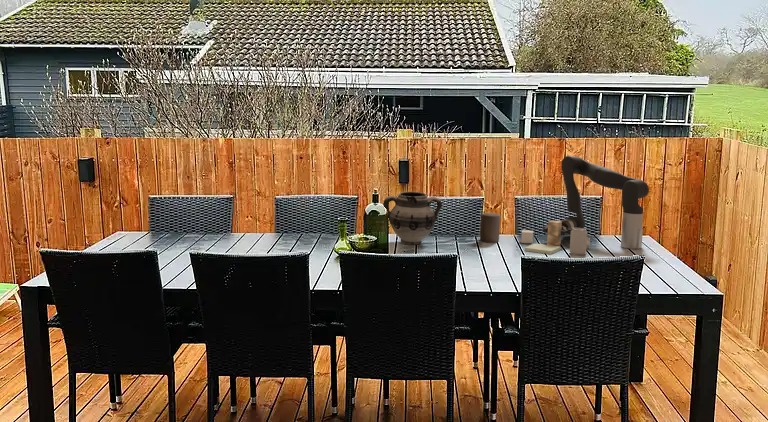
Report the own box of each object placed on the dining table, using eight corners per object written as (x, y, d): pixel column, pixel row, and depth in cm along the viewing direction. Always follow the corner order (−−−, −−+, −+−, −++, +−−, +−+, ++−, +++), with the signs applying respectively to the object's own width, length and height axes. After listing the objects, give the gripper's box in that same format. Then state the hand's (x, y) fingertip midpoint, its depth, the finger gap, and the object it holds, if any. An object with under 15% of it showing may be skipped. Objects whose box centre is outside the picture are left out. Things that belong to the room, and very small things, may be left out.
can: (584, 252, 325) (585, 227, 323) (587, 255, 318) (589, 230, 316) (568, 251, 326) (569, 226, 324) (570, 255, 318) (572, 229, 317)
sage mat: (560, 249, 330) (560, 246, 330) (550, 254, 319) (551, 251, 319) (534, 246, 337) (534, 243, 337) (524, 250, 326) (524, 247, 326)
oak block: (560, 245, 341) (561, 221, 339) (556, 246, 337) (558, 222, 335) (550, 243, 344) (551, 220, 342) (547, 245, 340) (548, 221, 338)
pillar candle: (478, 241, 345) (479, 212, 343) (481, 238, 355) (482, 209, 352) (497, 243, 343) (499, 214, 340) (500, 240, 352) (501, 211, 350)
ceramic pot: (440, 239, 350) (442, 190, 346) (441, 248, 327) (442, 196, 323) (384, 237, 351) (385, 189, 348) (380, 246, 329) (381, 195, 325)
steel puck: (589, 247, 336) (590, 237, 336) (588, 249, 331) (589, 239, 330) (577, 246, 338) (577, 236, 338) (576, 248, 333) (576, 238, 332)
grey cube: (532, 241, 350) (533, 230, 349) (532, 243, 345) (532, 232, 344) (521, 240, 351) (522, 230, 351) (521, 242, 346) (521, 231, 345)
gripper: (551, 218, 355) (539, 222, 341) (578, 221, 347) (567, 225, 334) (550, 232, 356) (538, 237, 342) (577, 236, 348) (566, 241, 335)
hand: (553, 231), depth 338 cm, fingers open, 8 cm apart
